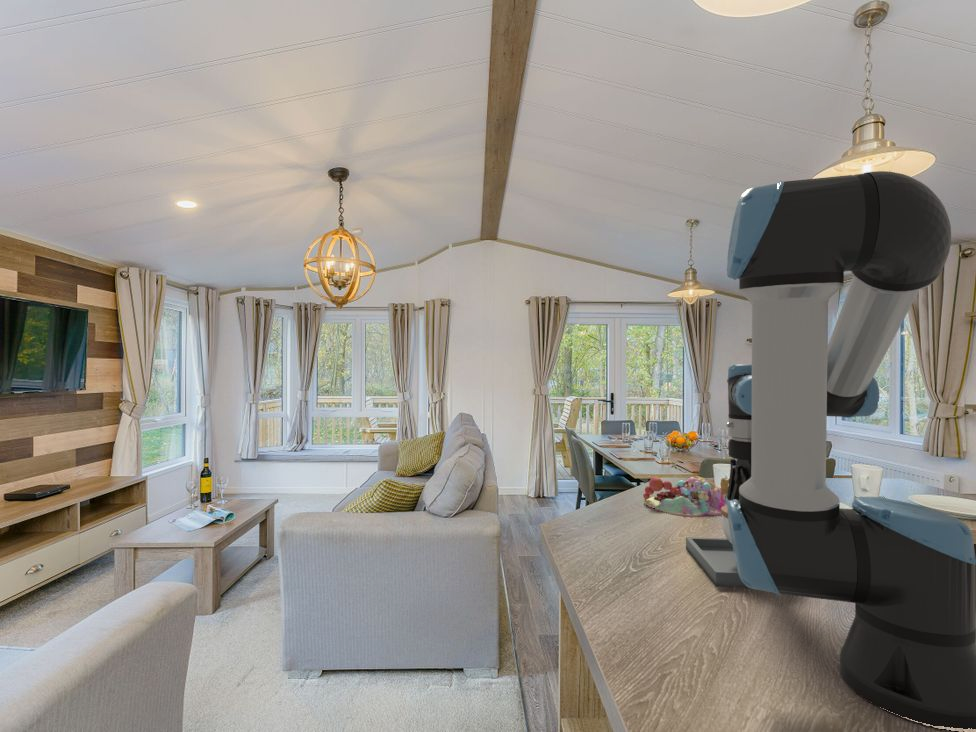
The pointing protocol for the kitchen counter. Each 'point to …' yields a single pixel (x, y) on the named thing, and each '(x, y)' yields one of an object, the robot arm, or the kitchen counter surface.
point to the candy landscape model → (687, 496)
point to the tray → (715, 559)
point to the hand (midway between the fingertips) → (749, 546)
